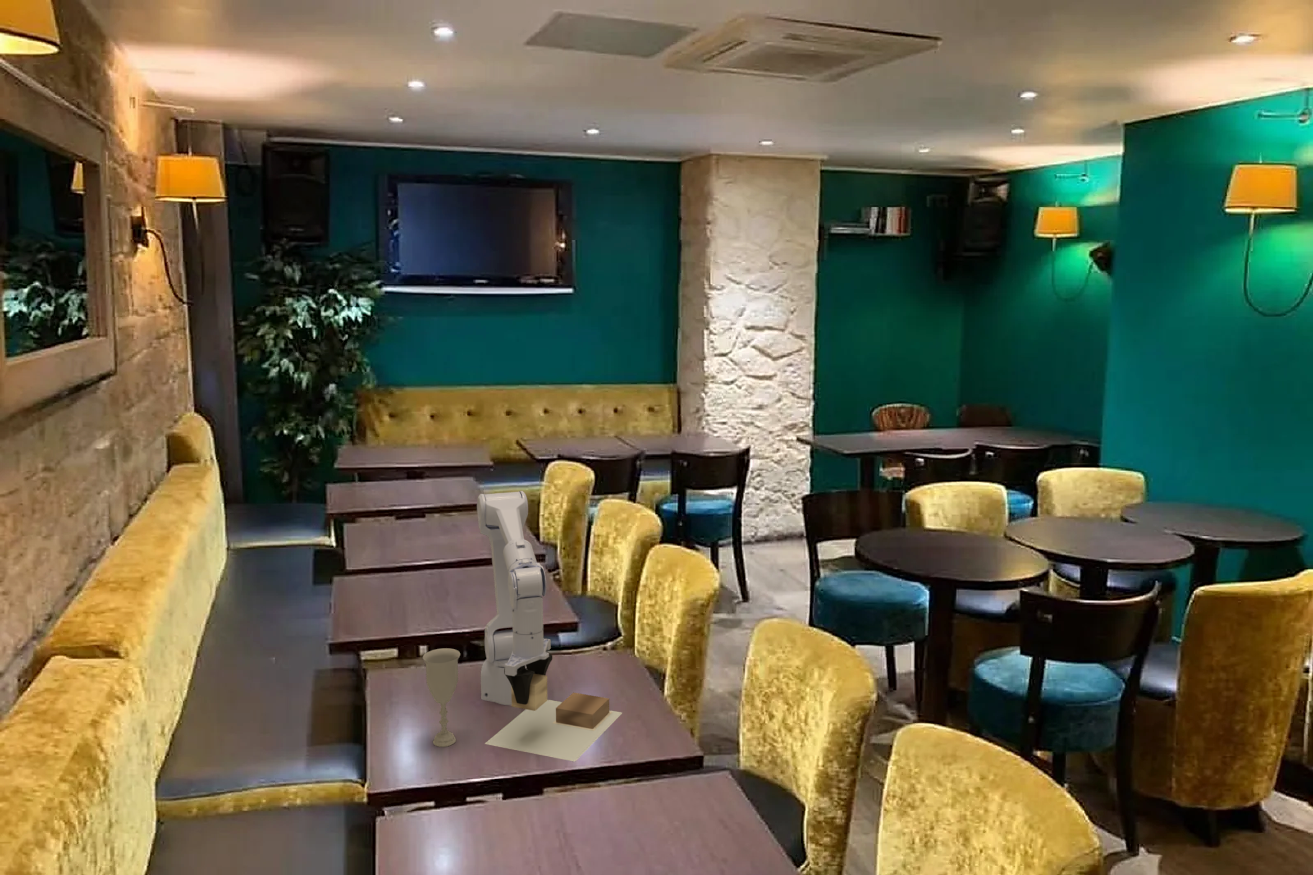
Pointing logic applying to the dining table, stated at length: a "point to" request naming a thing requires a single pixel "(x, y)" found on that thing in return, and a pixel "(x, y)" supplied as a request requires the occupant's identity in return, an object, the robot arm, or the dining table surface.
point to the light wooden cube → (534, 693)
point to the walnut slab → (582, 710)
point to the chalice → (442, 686)
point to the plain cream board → (549, 733)
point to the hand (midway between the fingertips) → (529, 697)
